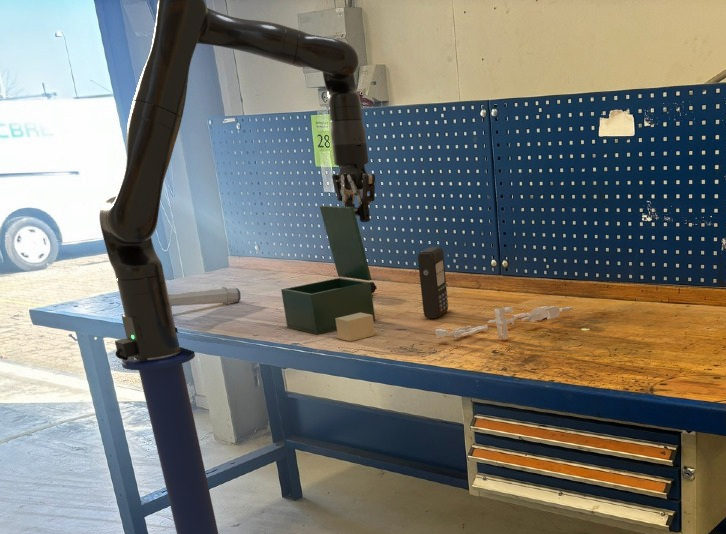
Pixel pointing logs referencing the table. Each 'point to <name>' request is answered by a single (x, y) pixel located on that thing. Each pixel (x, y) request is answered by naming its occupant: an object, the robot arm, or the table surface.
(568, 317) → the table surface
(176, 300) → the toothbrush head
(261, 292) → the table surface
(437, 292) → the card reader
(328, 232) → the bin lid
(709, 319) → the table surface
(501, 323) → the grey elongated piece
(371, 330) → the beige rectangular block
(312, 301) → the bin
